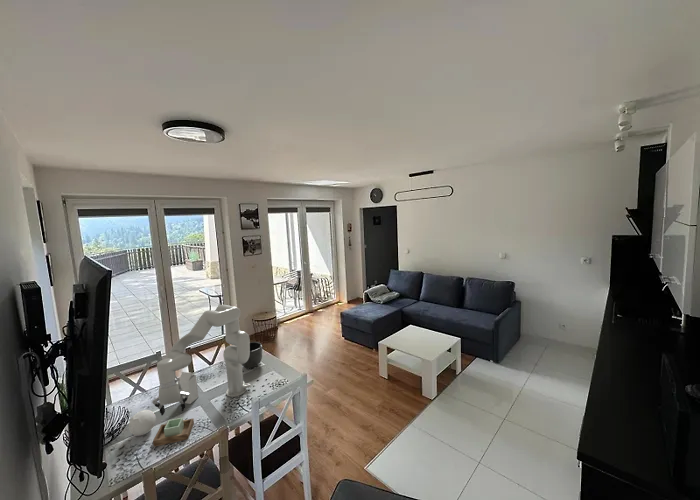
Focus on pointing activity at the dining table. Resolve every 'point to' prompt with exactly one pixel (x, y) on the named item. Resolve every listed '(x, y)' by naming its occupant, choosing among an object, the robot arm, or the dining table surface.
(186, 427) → the walnut crate
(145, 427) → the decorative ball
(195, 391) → the milk carton
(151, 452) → the dining table surface
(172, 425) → the sage bin
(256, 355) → the planter
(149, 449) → the dining table surface
